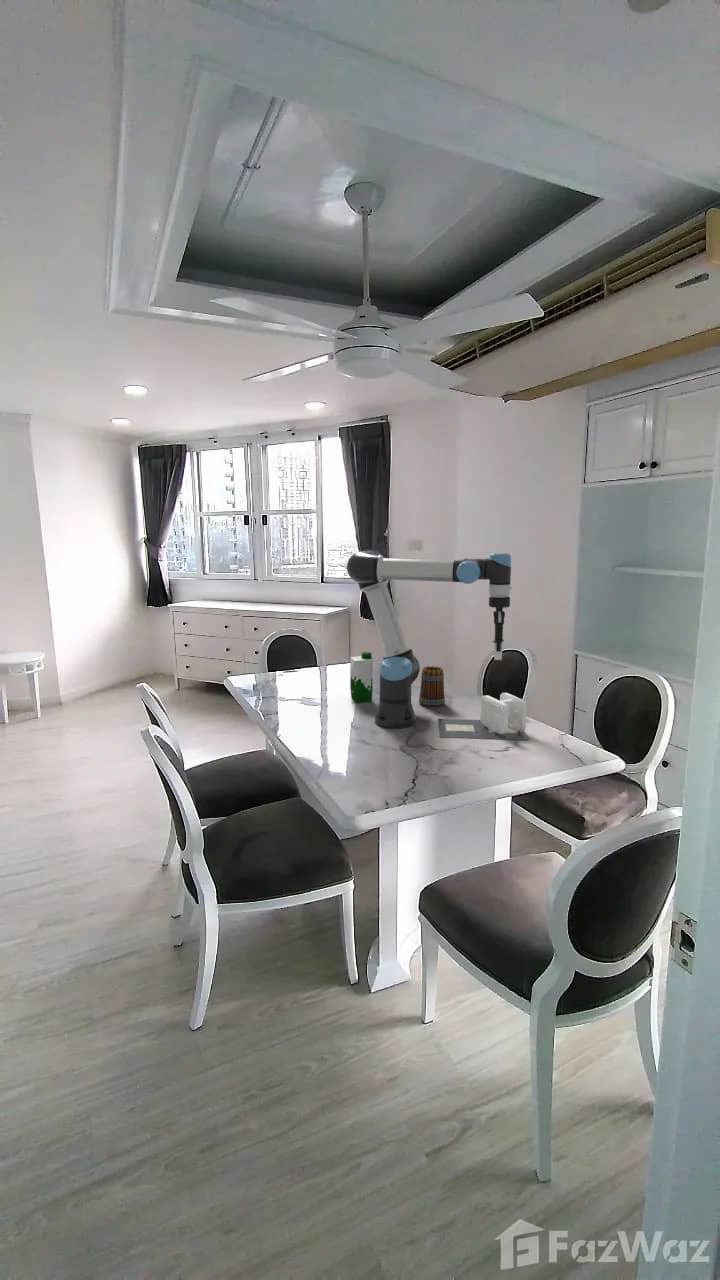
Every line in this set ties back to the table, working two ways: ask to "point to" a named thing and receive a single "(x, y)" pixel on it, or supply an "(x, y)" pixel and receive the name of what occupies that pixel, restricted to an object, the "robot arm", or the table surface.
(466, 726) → the panel
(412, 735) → the table surface
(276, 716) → the table surface
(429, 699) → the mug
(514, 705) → the cable organizer
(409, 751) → the table surface
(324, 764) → the table surface
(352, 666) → the milk carton
